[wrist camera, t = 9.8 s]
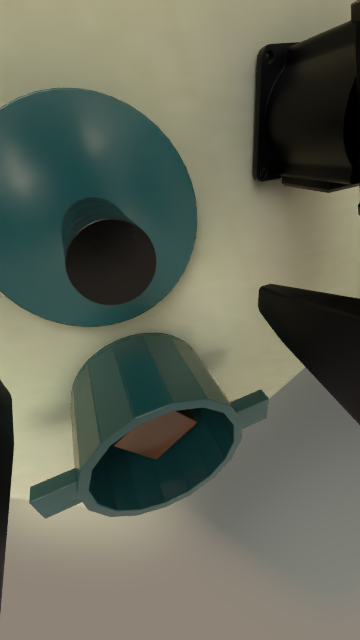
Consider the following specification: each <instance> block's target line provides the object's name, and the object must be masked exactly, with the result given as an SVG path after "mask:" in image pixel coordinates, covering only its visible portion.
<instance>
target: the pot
mask: <svg viewBox="0 0 360 640" xmlns="http://www.w3.org/2000/svg"><path fill="white" fill-rule="evenodd" d="M268 400H269V398H268V397H267V396H266V395H265V394H264V392H263V391H262V390H258V391H256V392H254V393H251V394H249V395H247V396H244V397H242V398H240V399H237V400H235V401H232V402H229V400H228V399H227V397H226V396H225V395H224V393H223V392H222V390H221V389H220V387H219V386H218V385H217V383H216V382H215V380H214V379H213V377H212V376H211V374H210V373H209V372H208V370H207V369H206V367H205V366H204V364H203V363H202V362H201V360H200V359H199V357H198V356H197V355H196V353H195V352H194V351H193V349H192V348H191V347H190V346H189V345H188V344H187V343H185V342H184V341H182V340H181V339H179V338H176V337H174V336H171V335H166V334H160V333H144V334H138V335H133V336H129V337H126V338H123V339H120V340H118V341H116V342H114V343H112V344H110V345H108V346H106V347H105V348H103V349H101V350H100V351H99V352H97V353H96V354H95V355H94V356H92V357H91V358H90V359H89V360H88V361H87V362H86V363H85V365H84V366H83V367H82V369H81V370H80V371H79V373H78V375H77V377H76V379H75V381H74V384H73V387H72V393H71V419H72V434H73V449H74V464H75V468H74V469H72V470H70V471H67V472H65V473H62V474H60V475H58V476H55V477H53V478H51V479H48V480H46V481H44V482H41V483H39V484H36V485H34V486H32V487H31V488H30V501H29V503H30V504H31V505H32V506H33V507H34V508H35V509H36V510H37V511H38V512H39V513H40V514H41V515H42V516H43V517H44V518H48V517H50V516H52V515H54V514H57V513H59V512H61V511H63V510H66V509H67V508H70V507H72V506H74V505H77V504H79V503H81V502H83V503H84V505H85V506H86V507H87V509H88V510H90V511H93V512H96V513H100V514H103V515H106V516H109V517H117V516H135V515H140V514H143V513H146V512H150V511H153V510H157V509H160V508H164V507H167V506H169V505H171V504H173V503H174V502H177V501H179V500H181V499H183V498H184V497H187V496H189V495H191V494H192V493H193V492H195V491H196V490H198V489H199V488H200V487H201V486H203V485H204V484H206V483H207V482H208V481H210V480H211V479H213V478H214V477H215V476H216V475H217V474H218V473H219V472H220V471H221V470H222V468H223V467H224V466H225V465H226V464H227V463H228V462H229V461H230V460H231V458H232V457H233V455H234V453H235V451H236V449H237V447H238V445H239V443H240V441H241V438H242V429H243V428H245V427H248V426H250V425H252V424H254V423H256V422H259V421H261V420H263V419H265V418H267V409H268ZM187 409H191V411H192V413H193V415H194V417H195V419H196V421H197V423H196V424H195V425H194V426H193V427H192V428H191V429H189V430H188V431H187V432H186V433H185V434H184V435H183V436H182V437H181V438H180V439H178V440H177V441H176V442H175V443H174V444H173V445H172V446H171V447H170V448H169V449H167V450H166V451H165V452H164V453H163V454H162V455H161V456H160V457H159V458H158V459H153V458H150V457H146V456H143V455H140V454H137V453H134V452H131V451H128V450H124V449H121V448H118V447H115V446H114V445H113V443H115V442H116V441H118V440H119V439H120V438H122V437H123V436H124V435H126V434H127V433H129V432H130V431H131V430H133V429H134V428H135V427H137V426H138V425H140V424H143V423H145V422H148V421H150V420H152V419H155V418H157V417H160V416H162V415H165V414H167V413H170V412H172V411H179V410H187Z"/></svg>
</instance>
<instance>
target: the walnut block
mask: <svg viewBox="0 0 360 640" xmlns="http://www.w3.org/2000/svg"><path fill="white" fill-rule="evenodd" d="M196 423H197V421H196V419H195V417H194V415H193V413H192V411H191V409H187V410H179V411H172V412H170V413H167V414H165V415H162V416H160V417H157V418H155V419H152V420H150V421H148V422H145V423H143V424H140V425H138V426H137V427H135V428H134V429H133V430H131V431H130V432H129V433H127V434H126V435H124V436H123V437H122V438H120V439H119V440H118V441H116V442H115V443H113V445H114V446H115V447H118V448H121V449H124V450H128V451H131V452H134V453H137V454H140V455H143V456H146V457H150V458H153V459H158V458H159V457H160V456H161V455H162V454H163V453H164V452H165V451H166V450H167V449H169V448H170V447H171V446H172V445H173V444H174V443H175V442H176V441H177V440H178V439H180V438H181V437H182V436H183V435H184V434H185V433H186V432H187V431H188V430H189V429H191V428H192V427H193V426H194V425H195V424H196Z"/></svg>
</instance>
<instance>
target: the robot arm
mask: <svg viewBox="0 0 360 640" xmlns="http://www.w3.org/2000/svg"><path fill="white" fill-rule="evenodd" d="M266 54H268V55H269V61H268V63H267V62H266V58H265V57H266ZM261 170H263V174H262V175H261V176H260V171H261ZM253 177H254V179H255V180H256V181H262V182H263V181H268V180H273V179H278V178H282V182H281V183H282V184H283V185H284V186H289V187H296V188H302V189H308V190H314V191H320V192H327V193H330V192H334V191H338V190H343V189H347V188H351V187H356V186H360V0H357V1H355V2H354V3H352V4H351V21H349V22H346V23H344V24H342V25H339V26H337V27H335V28H332V29H330V30H328V31H325V32H323V33H321V34H318V35H316V36H314V37H311V38H309V39H307V40H304V41H302V42H297V43H280V44H269V45H267V46H265V47H263V48H262V49H261V50H260V51H259V53H258V57H257V77H256V105H255V134H254V162H253ZM358 214H359V215H360V203H359V204H358ZM258 308H259V311H260V313H261V314H262V315H263V317H264V318H265V319H266V321H267V322H268V323H269V325H270V326H271V328H272V329H273V330H274V332H275V333H276V334H277V336H278V337H279V338H280V339H281V341H282V342H283V343H284V344H285V345H286V346H287V347H288V348H289V350H290V351H291V352H292V353H293V354H294V355H295V356H296V357H297V358H298V359H299V360H300V361H301V362H302V364H303V365H304V366H305V367H306V368H307V369H308V370H309V371H310V372H311V373H312V374H313V375H314V376H315V377H316V378H317V380H318V381H319V382H320V383H321V384H322V385H323V386H324V387H325V388H326V389H327V390H328V391H329V393H330V394H331V395H332V396H333V397H334V398H335V399H336V400H337V401H338V402H339V403H340V404H341V405H342V407H343V408H344V409H345V410H346V411H347V412H348V413H349V414H350V415H351V416H352V417H353V418H354V419H355V420H356V422H358V424H359V425H360V299H358V298H352V297H346V296H340V295H335V294H329V293H323V292H317V291H311V290H305V289H299V288H293V287H287V286H281V285H275V284H268V285H265V286H262V287H260V289H259V298H258ZM13 451H14V434H13V415H12V398H11V395H10V393H9V391H8V390H7V388H6V387H5V386H4V384H3V383H2V382H1V380H0V611H1V598H2V586H3V574H4V562H5V550H6V537H7V525H8V513H9V501H10V488H11V476H12V464H13Z"/></svg>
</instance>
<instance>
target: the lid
mask: <svg viewBox="0 0 360 640" xmlns="http://www.w3.org/2000/svg"><path fill="white" fill-rule="evenodd" d="M196 229H197V208H196V200H195V194H194V190H193V186H192V182H191V180H190V177H189V174H188V172H187V169H186V167H185V165H184V163H183V161H182V159H181V157H180V155H179V153H178V152H177V150H176V149H175V148H174V146H173V145H172V143H171V142H170V140H169V139H168V138H167V137H166V136H165V135H164V133H163V132H162V131H161V130H160V129H159V128H158V127H157V126H156V125H155V124H154V123H153V122H152V121H150V120H149V119H148V118H147V117H146V116H145V115H143V114H142V113H140V112H139V111H137V110H136V109H134V108H133V107H131V106H130V105H128V104H126V103H124V102H122V101H120V100H118V99H116V98H114V97H111V96H108V95H105V94H102V93H99V92H95V91H91V90H84V89H78V88H52V89H47V90H41V91H35V92H33V93H30V94H27V95H24V96H21V97H19V98H16V99H15V100H13V101H11V102H10V103H8V104H6V105H4V106H3V107H1V108H0V291H1V292H2V293H3V294H4V295H5V296H6V297H7V298H9V299H10V300H12V301H13V302H14V303H16V304H17V305H19V306H20V307H22V308H24V309H25V310H27V311H29V312H31V313H33V314H35V315H37V316H40V317H42V318H44V319H47V320H50V321H54V322H57V323H61V324H66V325H72V326H83V327H92V326H104V325H111V324H115V323H119V322H123V321H126V320H128V319H131V318H134V317H136V316H138V315H140V314H142V313H144V312H145V311H147V310H148V309H150V308H152V307H153V306H155V305H156V304H157V303H158V302H159V301H161V300H162V299H163V298H164V297H165V296H166V295H167V294H168V293H169V292H170V291H171V290H172V288H173V287H174V286H175V285H176V283H177V282H178V281H179V279H180V277H181V276H182V274H183V272H184V271H185V269H186V266H187V264H188V262H189V260H190V257H191V254H192V251H193V247H194V243H195V238H196Z"/></svg>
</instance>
